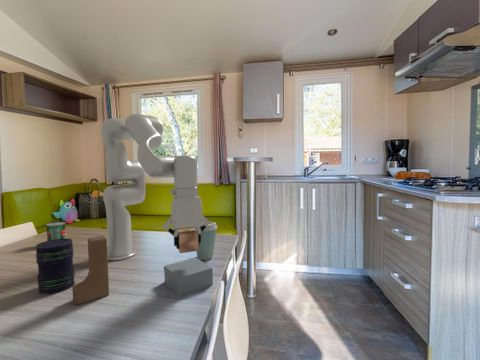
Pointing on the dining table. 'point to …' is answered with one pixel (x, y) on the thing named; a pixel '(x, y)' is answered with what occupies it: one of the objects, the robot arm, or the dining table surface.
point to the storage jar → (55, 266)
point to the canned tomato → (56, 231)
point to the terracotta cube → (188, 240)
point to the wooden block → (94, 273)
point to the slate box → (188, 276)
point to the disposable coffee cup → (207, 242)
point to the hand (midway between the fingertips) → (187, 245)
